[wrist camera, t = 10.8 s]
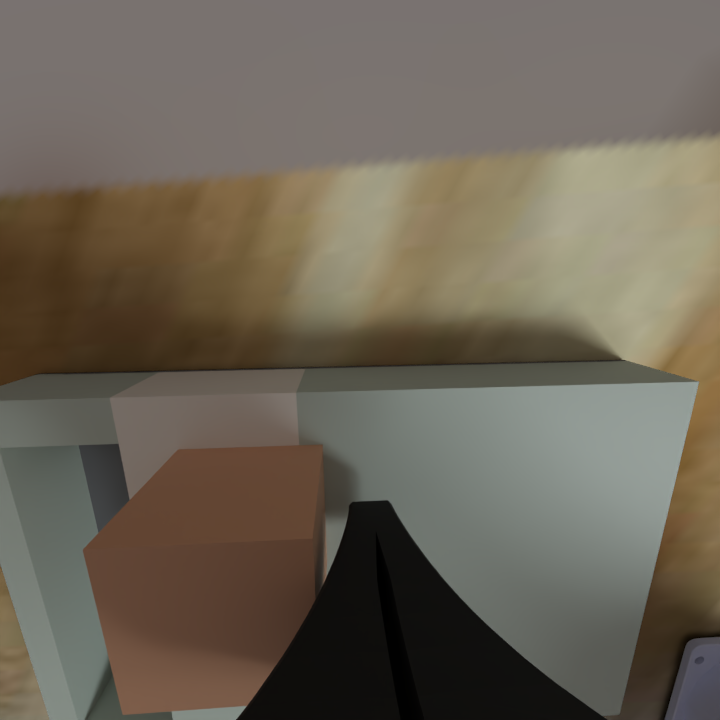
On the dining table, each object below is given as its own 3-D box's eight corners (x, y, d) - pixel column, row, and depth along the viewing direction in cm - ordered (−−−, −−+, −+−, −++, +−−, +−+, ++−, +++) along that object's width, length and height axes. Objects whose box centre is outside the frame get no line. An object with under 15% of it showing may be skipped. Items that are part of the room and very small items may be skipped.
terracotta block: (326, 561, 12) (320, 700, 8) (195, 568, 12) (122, 715, 8) (322, 444, 11) (312, 538, 7) (177, 449, 10) (82, 549, 7)
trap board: (572, 641, 17) (619, 714, 15) (112, 673, 16) (62, 759, 13) (623, 359, 14) (699, 381, 11) (38, 373, 13) (-52, 402, 10)
